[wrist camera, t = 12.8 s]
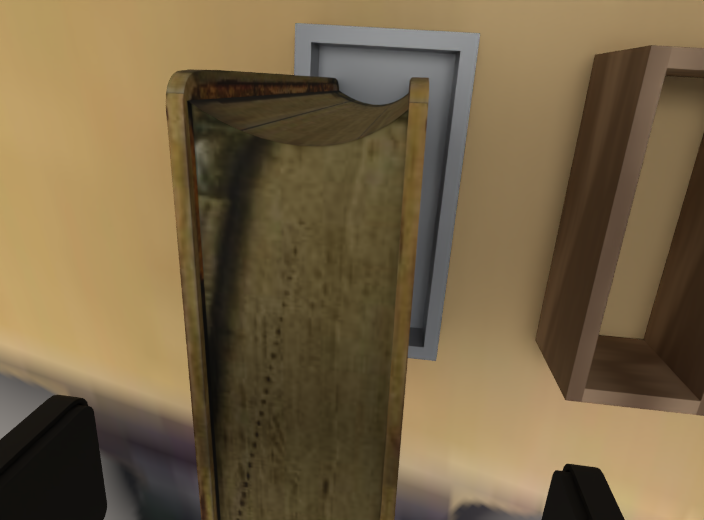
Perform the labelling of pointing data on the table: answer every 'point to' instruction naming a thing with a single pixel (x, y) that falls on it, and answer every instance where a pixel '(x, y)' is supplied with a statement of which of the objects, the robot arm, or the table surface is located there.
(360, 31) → the tray
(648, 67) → the frame
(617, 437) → the table surface
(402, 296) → the book
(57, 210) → the table surface
